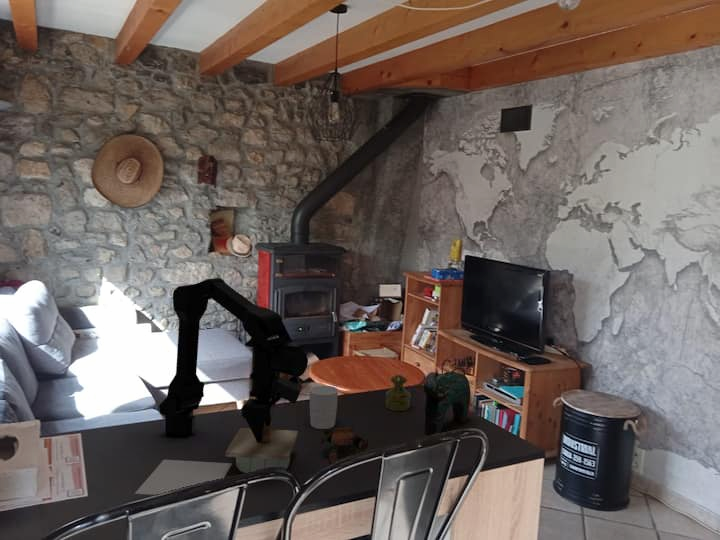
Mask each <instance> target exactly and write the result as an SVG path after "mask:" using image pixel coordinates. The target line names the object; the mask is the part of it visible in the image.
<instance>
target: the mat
mask: <svg viewBox="0 0 720 540" xmlns="http://www.w3.org/2000/svg"><path fill="white" fill-rule="evenodd" d="M232 465H233V463H232V462H231V463H230V462H212V461H210V462H209V461H198V460H197V461H196V460H195V461H194V460H180V459H179V460H176V459H163V460H162V461H161V462H160V464H159V465H158V466H157V467H156V468H155V469H154V471H153V472H152V473H151V474H150V475H149V476H148V477H147V479H146V480H145V481H144V482H143V483H142V484H141V486H139V488H138V489H137V490H136V491H135V492H134V494H136V495H148V496H149V495H150V496H152V495H153V496H157V495H156V494H161V493H164V492H168V491H171V490H175V489H179V488H182V487H186V486H190V485H195V484H198V483H203V482H206V481H212V480H216V479H221V478H223V479H224V478H225V476H226V475H227V474H228V472H229V470H230V468H231V466H232Z"/></svg>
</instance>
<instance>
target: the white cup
mask: <svg viewBox="0 0 720 540" xmlns="http://www.w3.org/2000/svg"><path fill="white" fill-rule="evenodd" d="M338 396H339V388H337V387H335V386H331V385H327V384H326V385H315V386H312V387H310V388H309V416H310V417H309V418H310V426H311V427H313V428H314V429H318V430H327V429H328V430H330V429H333V428H334V427H335V425H336V416H337V410H338Z"/></svg>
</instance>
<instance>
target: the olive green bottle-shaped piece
mask: <svg viewBox="0 0 720 540" xmlns="http://www.w3.org/2000/svg"><path fill="white" fill-rule="evenodd" d="M390 381H391V382H392V383H393V386H392V387H391V388H390V389H389V390H387V391H386V392H385V395H386V396H385V397H386V399H385V407H386V409H388V410H390V411H393V412H406V411H408V410H409V409H410V407H411V404H410V403H411V400H410V399H411V393H410V391H408V390H407V389H406V388H405V387H404V385H405V384H406V383H407V382H408V379H407V377H405V376H403V375H402V374H396V375H394V376H392V377H391V378H390Z"/></svg>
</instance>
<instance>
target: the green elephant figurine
mask: <svg viewBox="0 0 720 540" xmlns="http://www.w3.org/2000/svg"><path fill="white" fill-rule="evenodd" d="M446 362H448V363H449V364H451V362H452V361H451V360H450V359H448V358H447V359H444V360H443V362H442V363H441V373H440V372H438V371H436V372H434V371H431V372H429V373H428V374H427V375H426V376H425V377H424V383H423V391H424V393H425V395H426V397H425V408H424V413H425V415H424V435H426V436H429V435H431V434H435V433H440V432H441V433H442V428H443V424H444V419H445V416H446V413H447V411H448V409H449V408H450V407H452V415H453V421H454V422H457V423H465V422H466V421H467V420H468V415H469V413H468V412H469V408H470V403H471V386H470V381H469V379H468V377H467V375H466V371H465V368H463V367H460V366H459V367H455V368H454V369H452V370H451V371H450V370H449V371H446V372H444V366H445V364H446ZM456 370H462V372H463V373H462V372H458V371H456Z"/></svg>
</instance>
